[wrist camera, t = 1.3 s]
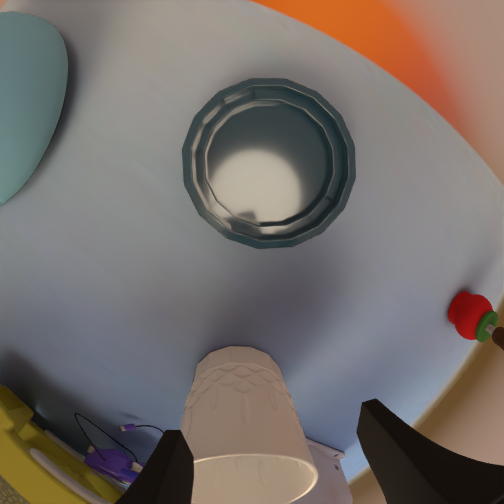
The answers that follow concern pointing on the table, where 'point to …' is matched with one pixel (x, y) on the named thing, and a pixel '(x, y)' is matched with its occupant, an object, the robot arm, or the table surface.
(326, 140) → the dish
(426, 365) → the table surface
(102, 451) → the game controller
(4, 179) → the sugar bowl
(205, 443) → the white cup
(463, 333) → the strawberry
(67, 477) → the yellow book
